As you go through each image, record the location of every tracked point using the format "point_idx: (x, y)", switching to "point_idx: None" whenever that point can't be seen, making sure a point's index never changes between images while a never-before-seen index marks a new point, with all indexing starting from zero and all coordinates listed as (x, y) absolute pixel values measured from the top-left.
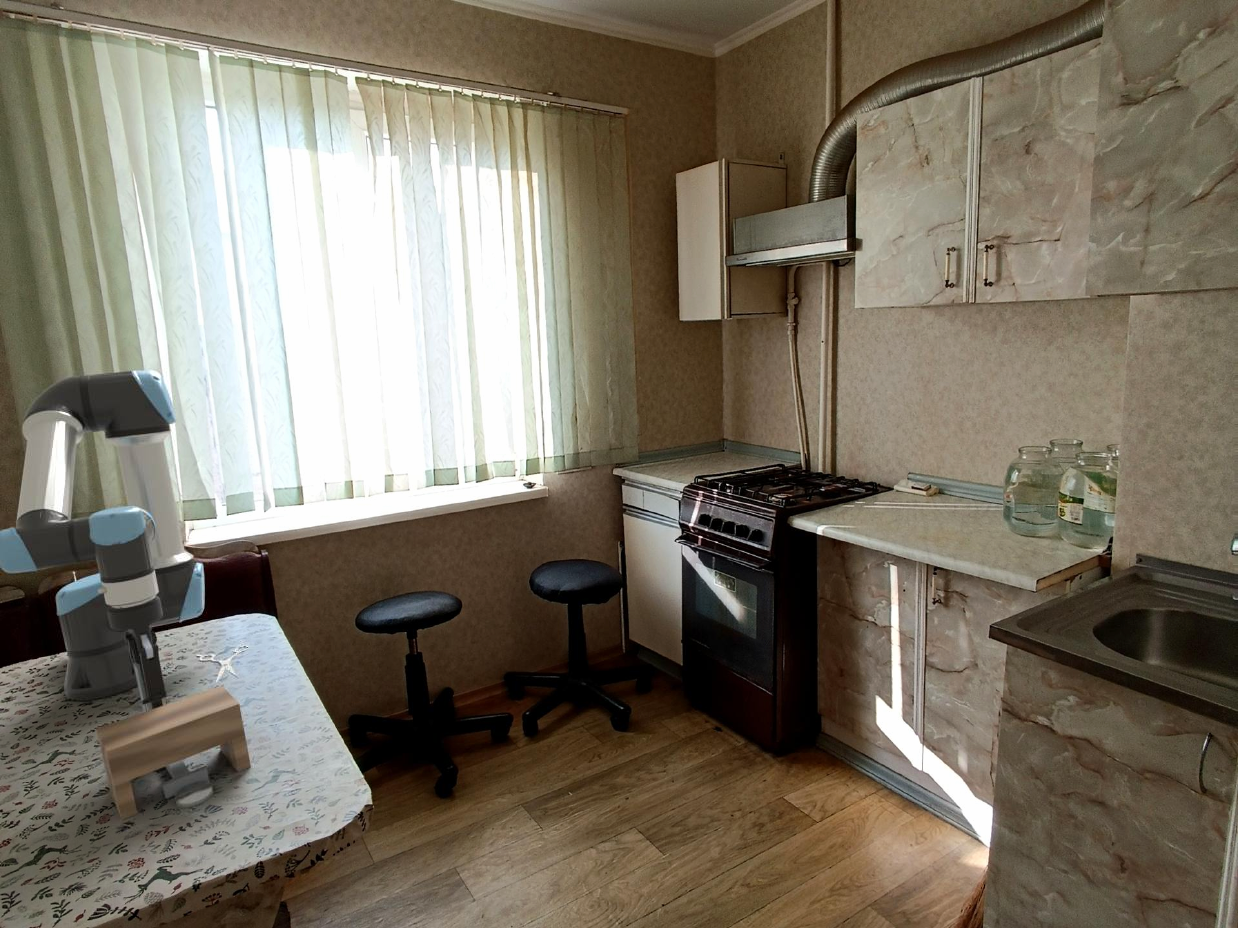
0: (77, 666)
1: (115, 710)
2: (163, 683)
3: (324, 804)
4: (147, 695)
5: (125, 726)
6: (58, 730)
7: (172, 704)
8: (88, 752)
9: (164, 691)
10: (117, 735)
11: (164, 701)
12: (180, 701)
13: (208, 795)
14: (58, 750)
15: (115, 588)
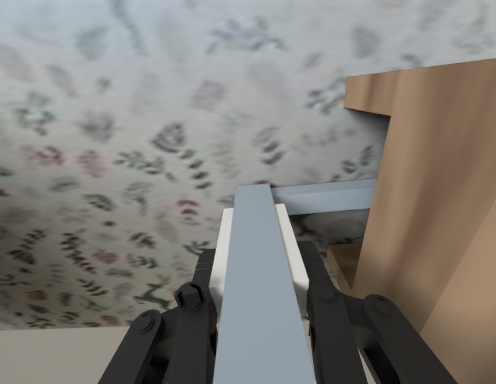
0: None
1: (14, 244)
2: (456, 382)
3: None
4: (362, 355)
5: (460, 360)
6: (64, 297)
7: (470, 281)
8: (169, 273)
9: (412, 328)
10: (493, 370)
11: (304, 267)
12: (478, 259)
13: None
14: (136, 296)
15: None
